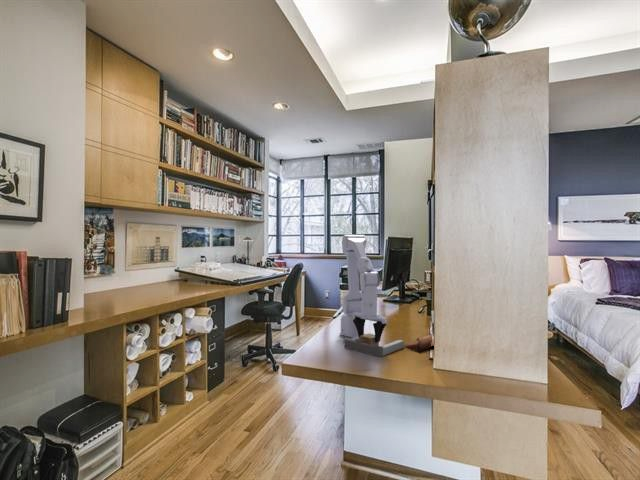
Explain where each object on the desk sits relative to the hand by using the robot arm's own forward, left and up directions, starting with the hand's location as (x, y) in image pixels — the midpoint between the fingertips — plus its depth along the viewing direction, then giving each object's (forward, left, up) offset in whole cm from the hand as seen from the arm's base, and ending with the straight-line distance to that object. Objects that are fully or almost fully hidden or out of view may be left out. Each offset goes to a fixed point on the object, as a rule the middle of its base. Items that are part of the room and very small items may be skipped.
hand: (369, 339), depth 119 cm
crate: (0, 0, -4) cm, 4 cm away
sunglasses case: (+13, +19, -4) cm, 23 cm away
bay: (0, +4, -3) cm, 5 cm away
